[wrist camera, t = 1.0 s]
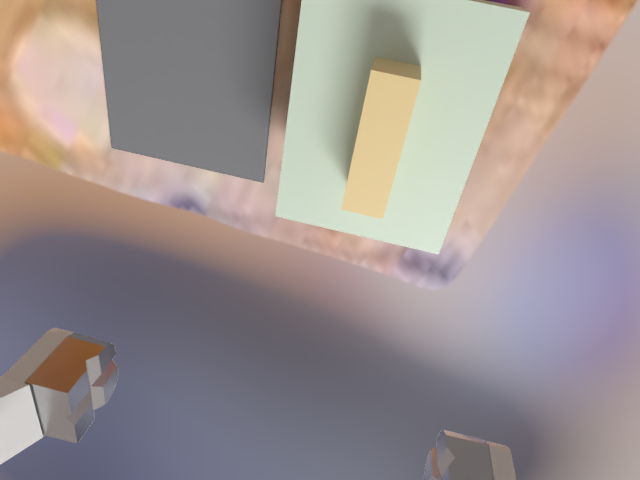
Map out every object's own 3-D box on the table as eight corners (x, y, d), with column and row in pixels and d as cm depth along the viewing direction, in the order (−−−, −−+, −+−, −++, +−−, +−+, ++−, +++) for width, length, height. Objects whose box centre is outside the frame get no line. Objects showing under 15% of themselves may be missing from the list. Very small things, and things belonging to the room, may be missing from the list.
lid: (312, -34, 28) (291, -29, 23) (522, 7, 27) (544, 21, 23) (282, 202, 37) (262, 240, 33) (437, 238, 37) (440, 282, 32)
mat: (87, -112, 33) (84, -112, 33) (289, -73, 32) (287, -73, 32) (113, 146, 44) (111, 147, 44) (263, 181, 43) (262, 182, 43)
